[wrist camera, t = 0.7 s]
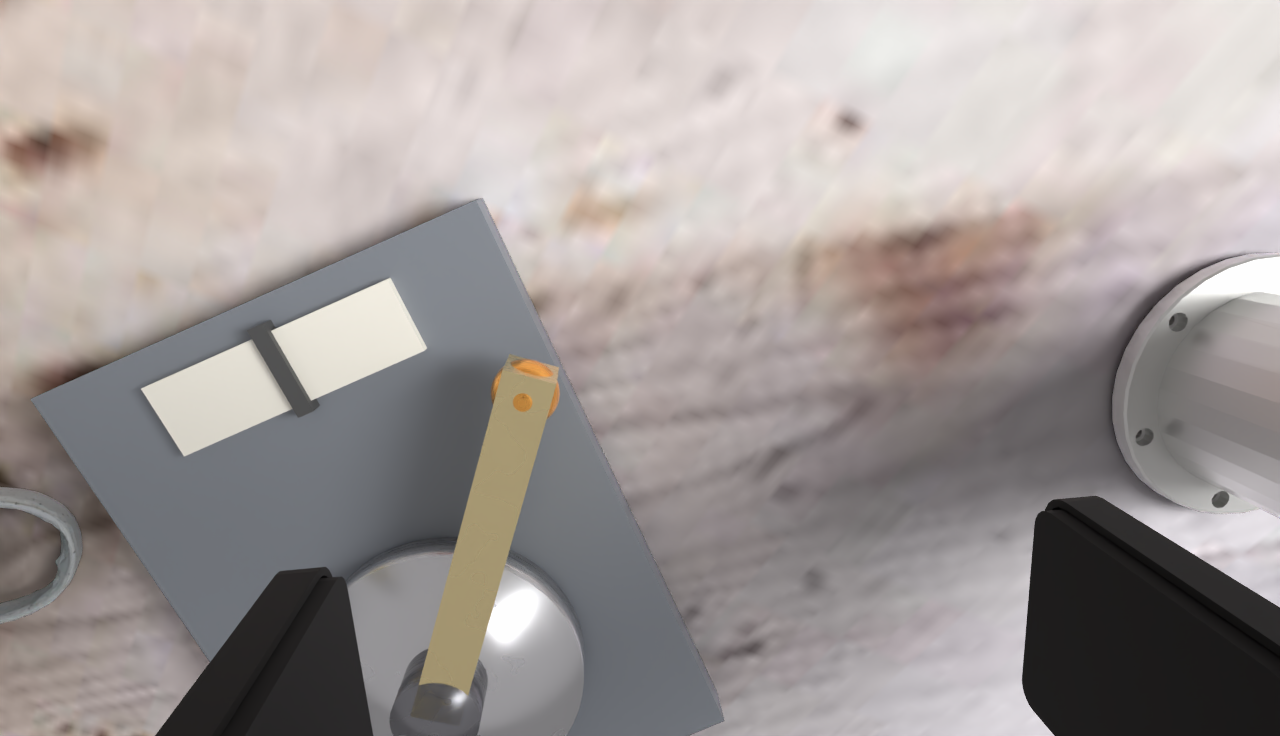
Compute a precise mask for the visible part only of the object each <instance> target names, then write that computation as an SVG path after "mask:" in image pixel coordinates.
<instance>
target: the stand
mask: <svg viewBox="0 0 1280 736" xmlns="http://www.w3.org/2000/svg"><path fill="white" fill-rule="evenodd" d="M509 354H512V355H516V356H519V357H523V358H527V359H532V360H536V361H539V362H541V363H545V364H549V365H552V366H556V367H559V371H558V378H557V381H558V384H559V389H560V397H559V402H558V405H557V407H556V409H555V411H554V412H553V414H552V415H551V416H550V417H549V418H548V419H547V420H546V423H545V427H544V430H543V434H542V437H541V441H540V444H539V448H538V451H537V455H536V458H535V462H534V465H533V469H532V472H531V476H530V479H529V483H528V486H527V490H526V493H525V497H524V501H523V504H522V508H521V511H520V515H519V518H518V522H517V525H516V529H515V532H514V536H513V539H512V543H511V546H510V550H512V551H514V552H516V553H518V554H520V555H522V556H524V557H525V558H527V559H529V560H530V561H532V562H533V563H535V564H536V565H537V566H539V567H540V568H541V569H542V570H544V571H545V572H546V573H547V574H548V575H549V576H550V577H551V578H552V579H553V580H554V581H555V582H556V583H557V584H558V585H559V587H560V588H561V589H562V591H563V592H564V593H565V595H566V596H567V597H568V599H569V601H570V603H571V605H572V607H573V608H574V610H575V613H576V615H577V618H578V621H579V623H580V627H581V632H582V636H583V644H584V684H583V695H582V699H581V703H580V707H579V711H578V713H577V716H576V718H575V720H574V723H573V725H572V727H571V728H570V730H569V732H568V734H567V735H566V736H689V735H691V734H694V733H696V732H699V731H701V730H703V729H706V728H708V727H711V726H713V725H716V724H718V723H721V722H723V721H724V717H723V713H722V709H721V705H720V701H719V697H718V693H717V691H716V689H715V687H714V685H713V683H712V681H711V678H710V676H709V674H708V672H707V670H706V668H705V666H704V664H703V662H702V659H701V657H700V655H699V653H698V651H697V649H696V647H695V645H694V643H693V640H692V638H691V636H690V634H689V632H688V630H687V628H686V626H685V624H684V622H683V619H682V617H681V615H680V613H679V611H678V609H677V607H676V605H675V603H674V600H673V598H672V596H671V594H670V592H669V590H668V588H667V586H666V584H665V581H664V579H663V577H662V575H661V573H660V571H659V569H658V567H657V565H656V562H655V560H654V558H653V556H652V554H651V552H650V550H649V548H648V546H647V544H646V541H645V539H644V537H643V535H642V533H641V531H640V529H639V527H638V525H637V522H636V520H635V518H634V516H633V514H632V512H631V510H630V508H629V506H628V503H627V501H626V499H625V497H624V495H623V493H622V491H621V489H620V487H619V484H618V482H617V480H616V478H615V476H614V474H613V472H612V470H611V468H610V466H609V463H608V461H607V459H606V457H605V455H604V453H603V451H602V449H601V447H600V444H599V442H598V440H597V438H596V436H595V434H594V432H593V430H592V428H591V425H590V423H589V421H588V419H587V417H586V415H585V413H584V411H583V409H582V407H581V404H580V402H579V400H578V398H577V396H576V394H575V392H574V390H573V388H572V385H571V383H570V381H569V379H568V377H567V375H566V373H565V371H564V369H563V366H562V364H561V362H560V360H559V358H558V356H557V354H556V352H555V350H554V347H553V345H552V343H551V341H550V339H549V337H548V335H547V333H546V331H545V329H544V326H543V324H542V322H541V320H540V318H539V316H538V314H537V312H536V310H535V307H534V305H533V303H532V301H531V299H530V297H529V295H528V293H527V291H526V288H525V286H524V284H523V282H522V280H521V278H520V276H519V274H518V272H517V269H516V267H515V265H514V263H513V261H512V259H511V257H510V255H509V253H508V251H507V248H506V246H505V244H504V242H503V240H502V238H501V236H500V234H499V232H498V229H497V227H496V225H495V223H494V221H493V219H492V217H491V215H490V213H489V210H488V208H487V206H486V204H485V202H484V200H483V198H482V199H478V200H475V201H472V202H470V203H468V204H466V205H463V206H461V207H459V208H457V209H454V210H452V211H450V212H448V213H445V214H443V215H441V216H439V217H436V218H434V219H432V220H430V221H428V222H425V223H423V224H421V225H419V226H416V227H414V228H412V229H410V230H407V231H405V232H403V233H401V234H398V235H396V236H394V237H392V238H390V239H387V240H385V241H383V242H381V243H378V244H376V245H374V246H372V247H369V248H367V249H365V250H363V251H360V252H358V253H356V254H354V255H351V256H349V257H347V258H345V259H343V260H340V261H338V262H336V263H334V264H331V265H329V266H327V267H325V268H322V269H320V270H318V271H316V272H313V273H311V274H309V275H307V276H304V277H302V278H300V279H298V280H296V281H293V282H291V283H289V284H287V285H284V286H282V287H280V288H278V289H275V290H273V291H271V292H269V293H266V294H264V295H262V296H260V297H258V298H255V299H253V300H251V301H249V302H246V303H244V304H242V305H240V306H237V307H235V308H233V309H231V310H228V311H226V312H224V313H222V314H219V315H217V316H215V317H213V318H211V319H208V320H206V321H204V322H202V323H199V324H197V325H195V326H193V327H190V328H188V329H186V330H184V331H181V332H179V333H177V334H175V335H172V336H170V337H168V338H166V339H164V340H161V341H159V342H157V343H155V344H152V345H150V346H148V347H146V348H143V349H141V350H139V351H137V352H134V353H132V354H130V355H128V356H125V357H123V358H121V359H119V360H117V361H114V362H112V363H110V364H108V365H105V366H103V367H101V368H99V369H96V370H94V371H92V372H90V373H87V374H85V375H83V376H81V377H79V378H76V379H74V380H72V381H70V382H67V383H65V384H63V385H61V386H58V387H56V388H54V389H52V390H49V391H47V392H45V393H43V394H40V395H38V396H36V397H34V398H32V399H31V401H32V402H33V404H34V405H35V407H36V408H37V410H38V411H39V413H40V414H41V415H42V417H43V418H44V420H45V421H46V423H47V424H48V426H49V427H50V429H51V430H52V432H53V433H54V435H55V436H56V437H57V439H58V440H59V442H60V443H61V445H62V446H63V448H64V449H65V451H66V452H67V454H68V455H69V456H70V458H71V459H72V461H73V462H74V464H75V465H76V467H77V468H78V470H79V471H80V473H81V474H82V476H83V477H84V478H85V480H86V481H87V483H88V484H89V486H90V487H91V489H92V490H93V492H94V493H95V495H96V496H97V497H98V499H99V500H100V502H101V503H102V505H103V506H104V508H105V509H106V511H107V512H108V514H109V515H110V517H111V518H112V519H113V521H114V522H115V524H116V525H117V527H118V528H119V530H120V531H121V533H122V534H123V536H124V537H125V538H126V540H127V541H128V543H129V544H130V546H131V547H132V549H133V550H134V552H135V553H136V555H137V556H138V558H139V559H140V560H141V562H142V563H143V565H144V566H145V568H146V569H147V571H148V572H149V574H150V575H151V577H152V578H153V579H154V581H155V582H156V584H157V585H158V587H159V588H160V590H161V591H162V593H163V594H164V596H165V597H166V598H167V600H168V601H169V603H170V604H171V606H172V607H173V609H174V610H175V612H176V613H177V615H178V616H179V618H180V619H181V620H182V622H183V623H184V625H185V626H186V628H187V629H188V631H189V632H190V634H191V635H192V637H193V638H194V639H195V641H196V642H197V644H198V645H199V647H200V648H201V650H202V651H203V653H204V654H205V656H206V657H207V659H208V660H209V661H210V662H211V660H212V659H213V658H214V656H215V655H216V654H217V652H218V651H219V650H220V648H221V647H222V646H223V644H224V643H225V642H226V640H227V639H228V638H229V636H230V635H231V634H232V632H233V631H234V630H235V628H236V627H237V626H238V624H239V623H240V622H241V620H242V619H243V618H244V616H245V615H246V614H247V612H248V611H249V610H250V608H251V607H252V605H253V604H254V603H255V601H256V600H257V599H258V597H259V596H260V595H261V593H262V592H263V591H264V589H265V588H266V587H267V585H268V584H269V583H270V581H271V580H272V579H273V577H274V576H275V575H276V574H277V573H278V572H279V571H285V570H296V569H307V568H318V567H327V568H328V569H329V570H330V572H331V574H332V577H343V578H344V579H345V581H347V580H348V578H349V577H350V576H351V575H352V574H353V573H354V572H356V571H357V570H358V569H359V568H360V567H362V566H363V565H364V564H365V563H367V562H368V561H370V560H371V559H373V558H375V557H376V556H378V555H379V554H381V553H383V552H386V551H388V550H390V549H392V548H394V547H397V546H400V545H403V544H406V543H410V542H413V541H418V540H423V539H429V538H440V537H458V536H459V532H460V528H461V524H462V520H463V517H464V513H465V509H466V505H467V502H468V498H469V494H470V490H471V487H472V483H473V479H474V475H475V472H476V468H477V464H478V460H479V457H480V453H481V449H482V445H483V442H484V438H485V434H486V430H487V427H488V423H489V419H490V415H491V411H492V408H493V404H492V400H491V386H492V382H493V380H494V378H495V376H496V374H497V373H498V372H499V370H500V369H501V368H502V367H504V365H505V363H506V361H507V359H508V356H509Z"/></svg>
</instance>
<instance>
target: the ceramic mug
mask: <svg viewBox="0 0 1280 736" xmlns="http://www.w3.org/2000/svg"><path fill="white" fill-rule="evenodd" d="M0 508H10V509H18V510H22V511H24V512H27V513H30V514H32V515H35V516H37V517H40V518H41V519H42V520H43V521H45V522H48V523H51V524H52V525H53V526H54V527H55V528H57V529H58V530H59V531H60V536H61V544H62V545H61V554H60V556H59V558H58V559H57V560H56V562H55V563H56V565H57V566H58V572H57V574H56V577H55V579H54V580H53V581H52V582H51V583H50V584H49V585H48V586H46V587H44V588H42V589H40V590H37V591H35V592H33V593H32V594H29V595H26V596H23V597H20V598H17V599H15V600H11V601H6V602H2V603H0V624H2V623H5V622H9V621H15V620H17V619H19V618H22V617H25V616H28V615H31V614H32V613H34V612H36V611H38V610H40V609H41V608H43V607H45V606H47V605H48V604H50V603H51V602H53V601H54V600H55V599H56V598H57V597H58V596H59V595H60V594H61V593H62V592H63V591H64V590H65V588H66V587H67V586H68V585H69V583H70V582H71V580H72V578H73V576H74V574H75V572H76V569H77V567H78V564H79V561H80V558H81V556H82V535H81V531H80V528H79V526H78V523H77V521H76V518H75V517H74V516H73V514H72V513H71V512H70V511H69V510H68V508H67V507H65V506H64V505H63V504H61V503H60V502H58V501H56V500H54V499H53V498H51V497H49V496H47V495H45V494H42V493H39V492H36V491H33V490H28V489H22V488H8V487H0Z"/></svg>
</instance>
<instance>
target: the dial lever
mask: <svg viewBox="0 0 1280 736" xmlns="http://www.w3.org/2000/svg"><path fill="white" fill-rule="evenodd" d="M558 371H559V367H556V366H552V365H549V364H545V363H541V362H539V361H536V360H532V359H527V358H523V357H519V356H516V355H512V354H509V356H508V359H507V361H506V363H505V365H504V367H502V368H501V369H500V370H499V372H498V373H497V374H496V376H495V378H494V380H493V382H492V386H491V400H492V404H493V408H492V411H491V415H490V419H489V423H488V427H487V430H486V434H485V438H484V442H483V445H482V449H481V453H480V457H479V460H478V464H477V468H476V472H475V475H474V479H473V483H472V487H471V490H470V494H469V498H468V502H467V505H466V509H465V513H464V517H463V520H462V524H461V528H460V532H459V536H458V537H440V538H429V539H423V540H418V541H413V542H410V543H406V544H403V545H400V546H397V547H394V548H392V549H390V550H388V551H386V552H383V553H381V554H379V555H378V556H376V557H375V558H373V559H371V560H370V561H368V562H367V563H365V564H364V565H363V566H362V567H360V568H359V569H358V570H357V571H356V572H354V573H353V574H352V575H351V576H350V577H349V578H348V580H347V581H346V584H347V588H348V593H349V599H350V605H351V610H352V616H353V622H354V628H355V633H356V639H357V645H358V650H359V656H360V662H361V668H362V673H363V679H364V685H365V691H366V696H367V702H368V708H369V713H370V719H371V725H372V731H373V736H566V735H567V734H568V732H569V730H570V728H571V727H572V725H573V723H574V720H575V718H576V716H577V713H578V711H579V707H580V703H581V699H582V695H583V684H584V644H583V636H582V632H581V627H580V623H579V621H578V618H577V615H576V613H575V610H574V608H573V607H572V605H571V603H570V601H569V599H568V597H567V596H566V595H565V593H564V592H563V591H562V589H561V588H560V587H559V585H558V584H557V583H556V582H555V581H554V580H553V579H552V578H551V577H550V576H549V575H548V574H547V573H546V572H545V571H544V570H542V569H541V568H540V567H539V566H537V565H536V564H535V563H533V562H532V561H530V560H529V559H527V558H525V557H524V556H522V555H520V554H518V553H516V552H514V551H512V550H510V546H511V543H512V539H513V536H514V532H515V529H516V525H517V522H518V518H519V515H520V511H521V508H522V504H523V501H524V497H525V493H526V490H527V486H528V483H529V479H530V476H531V472H532V469H533V465H534V462H535V458H536V455H537V451H538V448H539V444H540V441H541V437H542V434H543V430H544V427H545V423H546V420H547V419H548V418H549V417H550V416H551V415H552V414H553V412H554V411H555V409H556V407H557V405H558V402H559V397H560V389H559V384H558V381H557V378H558Z"/></svg>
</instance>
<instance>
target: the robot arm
mask: <svg viewBox="0 0 1280 736" xmlns="http://www.w3.org/2000/svg"><path fill="white" fill-rule="evenodd" d="M1112 421H1113V426H1114V430H1115V435H1116V439H1117V443H1118V445H1119V448H1120V450H1121V452H1122V454H1123V456H1124V458H1125V461H1126V463H1127V464H1128V465H1129V466H1130V468H1131V469H1132V470H1133V472H1134V473H1135V474H1136V475H1137V477H1138V478H1139V479H1140V480H1141V481H1142V482H1144V483H1145V484H1146V485H1147V486H1149V487H1150V488H1151V489H1152V490H1154V491H1155V492H1156V493H1158V494H1160V495H1162V496H1164V497H1166V498H1168V499H1169V500H1171V501H1173V502H1174V503H1176V504H1179V505H1181V506H1184V507H1187V508H1190V509H1193V510H1195V511H1199V512H1205V513H1212V514H1234V513H1245V512H1250V511H1254V510H1258V509H1262V510H1264V511H1266V512H1268V513H1270V514H1272V515H1274V516H1276V517H1278V518H1280V253H1253V254H1247V255H1243V256H1238V257H1234V258H1229V259H1225V260H1223V261H1221V262H1218V263H1216V264H1214V265H1211V266H1209V267H1207V268H1204V269H1202V270H1200V271H1198V272H1197V273H1195V274H1194V275H1192V276H1191V277H1189V278H1187V279H1186V280H1184V281H1183V282H1181V283H1180V284H1178V285H1177V286H1176V287H1175V288H1173V289H1172V290H1171V291H1170V292H1169V293H1168V294H1167V295H1166V296H1164V297H1163V298H1162V299H1161V300H1160V301H1159V302H1158V303H1157V304H1156V305H1155V306H1154V307H1153V309H1152V310H1151V311H1150V312H1149V313H1148V315H1147V316H1146V317H1145V318H1144V320H1143V321H1142V322H1141V323H1140V325H1139V326H1138V328H1137V330H1136V331H1135V333H1134V335H1133V337H1132V338H1131V340H1130V342H1129V343H1128V345H1127V347H1126V349H1125V352H1124V354H1123V357H1122V360H1121V362H1120V365H1119V368H1118V370H1117V374H1116V379H1115V385H1114V390H1113V395H1112ZM1022 684H1023V690H1024V693H1025V696H1026V699H1027V701H1028V703H1029V705H1030V707H1031V708H1032V709H1033V711H1034V712H1035V713H1036V714H1037V715H1038V717H1039V718H1040V719H1041V720H1042V721H1043V722H1044V724H1045V725H1046V726H1047V727H1048V728H1049V730H1050V731H1051V732H1052V733H1053V734H1054V735H1055V736H1280V607H1278V606H1276V605H1275V604H1273V603H1271V602H1270V601H1268V600H1267V599H1265V598H1263V597H1262V596H1260V595H1258V594H1257V593H1255V592H1254V591H1252V590H1250V589H1249V588H1247V587H1245V586H1244V585H1242V584H1241V583H1239V582H1237V581H1236V580H1234V579H1232V578H1231V577H1229V576H1228V575H1226V574H1224V573H1223V572H1221V571H1219V570H1218V569H1216V568H1215V567H1213V566H1211V565H1210V564H1208V563H1207V562H1205V561H1203V560H1202V559H1200V558H1198V557H1197V556H1195V555H1194V554H1192V553H1190V552H1189V551H1187V550H1185V549H1184V548H1182V547H1181V546H1179V545H1177V544H1176V543H1174V542H1172V541H1171V540H1169V539H1168V538H1166V537H1164V536H1163V535H1161V534H1159V533H1158V532H1156V531H1155V530H1153V529H1151V528H1150V527H1148V526H1146V525H1145V524H1143V523H1142V522H1140V521H1138V520H1137V519H1135V518H1133V517H1132V516H1130V515H1129V514H1127V513H1125V512H1124V511H1122V510H1120V509H1119V508H1117V507H1116V506H1114V505H1112V504H1111V503H1109V502H1108V501H1106V500H1104V499H1103V498H1100V497H1098V496H1088V497H1077V498H1066V499H1056V500H1052V501H1051V502H1049V503H1048V505H1047V507H1046V509H1045V511H1041V512H1040V513H1039V514H1038V515H1037V517H1036V520H1035V527H1034V539H1033V552H1032V564H1031V576H1030V589H1029V601H1028V613H1027V625H1026V638H1025V650H1024V662H1023V675H1022ZM156 736H373V731H372V725H371V719H370V713H369V708H368V702H367V696H366V691H365V685H364V679H363V673H362V668H361V662H360V656H359V650H358V645H357V639H356V633H355V628H354V622H353V616H352V610H351V605H350V599H349V593H348V588H347V584H346V581H345V579H344V578H343V577H332V574H331V572H330V570H329V569H328V568H327V567H318V568H307V569H296V570H285V571H279V572H278V573H277V574H276V575H275V576H274V577H273V579H272V580H271V581H270V583H269V584H268V585H267V587H266V588H265V589H264V591H263V592H262V593H261V595H260V596H259V597H258V599H257V600H256V601H255V603H254V604H253V605H252V607H251V608H250V610H249V611H248V612H247V614H246V615H245V616H244V618H243V619H242V620H241V622H240V623H239V624H238V626H237V627H236V628H235V630H234V631H233V632H232V634H231V635H230V636H229V638H228V639H227V640H226V642H225V643H224V644H223V646H222V647H221V648H220V650H219V651H218V652H217V654H216V655H215V656H214V658H213V659H212V660H211V662H210V663H209V664H208V666H207V667H206V669H205V670H204V671H203V673H202V674H201V675H200V677H199V678H198V679H197V681H196V682H195V683H194V685H193V686H192V687H191V689H190V690H189V691H188V693H187V694H186V695H185V697H184V698H183V699H182V701H181V702H180V703H179V705H178V706H177V707H176V709H175V710H174V711H173V713H172V714H171V715H170V717H169V718H168V719H167V721H166V722H165V723H164V725H163V726H162V728H161V729H160V730H159V732H158V733H157V734H156Z"/></svg>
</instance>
